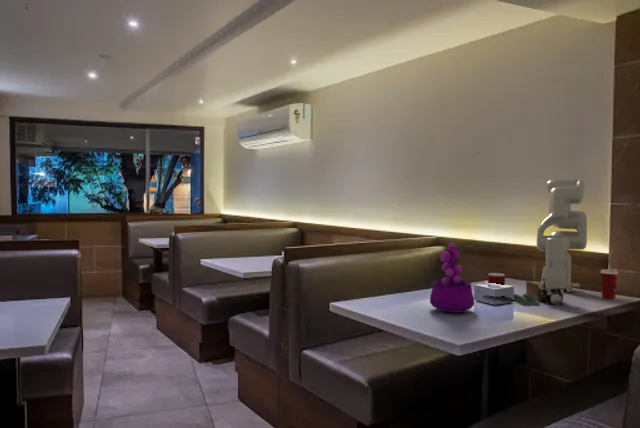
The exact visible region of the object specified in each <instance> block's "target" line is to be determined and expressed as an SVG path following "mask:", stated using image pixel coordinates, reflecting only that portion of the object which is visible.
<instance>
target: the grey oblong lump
mask: <svg viewBox="0 0 640 428" xmlns="http://www.w3.org/2000/svg"><path fill="white" fill-rule="evenodd" d="M549 295H550V304H552V305H553V306H554V305H555V306H560V305H562V304H563V301H564V298H563V299H562V297H561V296H560V295H558V294H555V293H553V292H550V294H549ZM542 301H544V302H546V301H545V294H544V293H543V292H542ZM561 303H562V304H561Z"/></svg>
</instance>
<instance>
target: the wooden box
mask: <svg viewBox="0 0 640 428" xmlns="http://www.w3.org/2000/svg"><path fill="white" fill-rule="evenodd" d="M525 283H526V284H525V285H526V286H525V287H526V288H525V294H527V295H530V296H532V297H534V298H536V302H537V301H543V300H542V291H541V290H540V289H539V288H538V286H539V285H540V284H541V280H535V281H534V280H532V281H531V280H529V281H527V280H526V282H525ZM543 288H544V289H545V287H543ZM550 292H553V293H555V294H559V293H558V289H551V290H550Z"/></svg>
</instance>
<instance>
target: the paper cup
mask: <svg viewBox="0 0 640 428" xmlns="http://www.w3.org/2000/svg"><path fill="white" fill-rule="evenodd" d="M599 274H600V281H601V283H600V284H601V285H600V286H601V299H603V298H606V299H605V300H607V299H615V300H616V297H617V296H616V295H617V284H618V275H619V272H618V270H616V269H607V268H606V269H605V268H603V269H601V270H600V271H599Z"/></svg>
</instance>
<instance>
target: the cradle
mask: <svg viewBox="0 0 640 428" xmlns="http://www.w3.org/2000/svg"><path fill="white" fill-rule="evenodd" d="M513 298H514V301H515V302H514V301H513V302H514V303H516V302H517V303H516V304H518V303H519V305H521V306H540V302H537V301H536V298H534V297H532V296H530V295H527V294H526V293H522V295H519V294H517V293H513Z"/></svg>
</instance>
